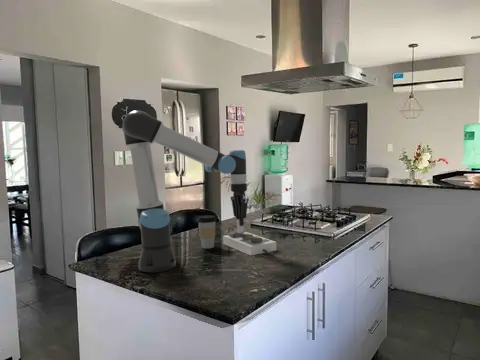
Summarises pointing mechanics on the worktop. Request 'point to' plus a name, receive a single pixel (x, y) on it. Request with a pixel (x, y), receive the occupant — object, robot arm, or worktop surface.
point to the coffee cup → (207, 230)
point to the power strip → (250, 245)
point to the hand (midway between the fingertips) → (240, 232)
